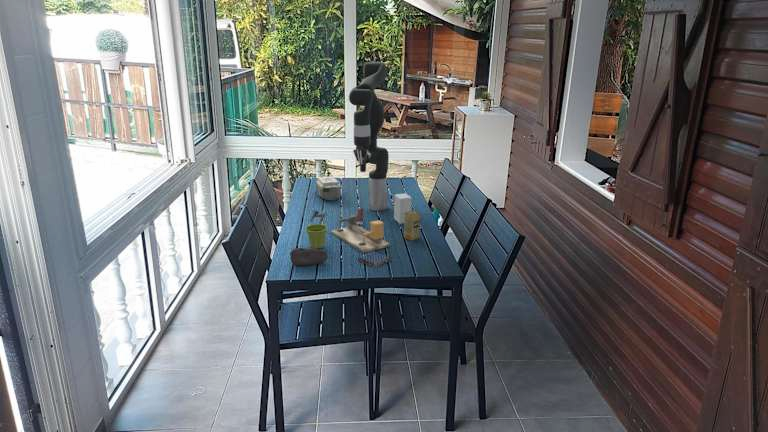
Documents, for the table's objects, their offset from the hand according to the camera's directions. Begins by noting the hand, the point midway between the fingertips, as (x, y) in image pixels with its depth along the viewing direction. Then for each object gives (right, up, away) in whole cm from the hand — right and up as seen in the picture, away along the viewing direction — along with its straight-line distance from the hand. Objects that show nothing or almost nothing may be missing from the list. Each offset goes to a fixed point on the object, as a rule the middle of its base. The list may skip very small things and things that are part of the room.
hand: (363, 171), depth 237 cm
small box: (+19, -23, +19) cm, 36 cm away
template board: (-1, -31, -5) cm, 32 cm away
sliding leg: (+5, -31, -13) cm, 34 cm away
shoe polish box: (+22, -31, -2) cm, 38 cm away
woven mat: (+6, -39, -26) cm, 48 cm away
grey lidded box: (-22, -9, +59) cm, 64 cm away
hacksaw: (-22, -23, +20) cm, 38 cm away
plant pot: (-20, -34, -13) cm, 41 cm away
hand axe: (-6, -22, +23) cm, 33 cm away
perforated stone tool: (-20, -40, -31) cm, 54 cm away
